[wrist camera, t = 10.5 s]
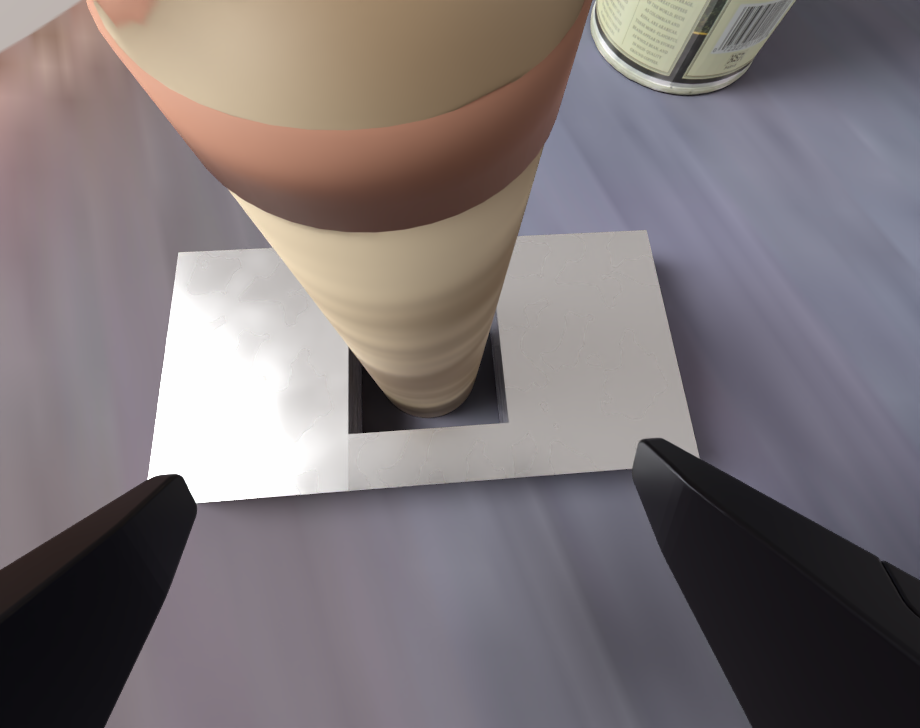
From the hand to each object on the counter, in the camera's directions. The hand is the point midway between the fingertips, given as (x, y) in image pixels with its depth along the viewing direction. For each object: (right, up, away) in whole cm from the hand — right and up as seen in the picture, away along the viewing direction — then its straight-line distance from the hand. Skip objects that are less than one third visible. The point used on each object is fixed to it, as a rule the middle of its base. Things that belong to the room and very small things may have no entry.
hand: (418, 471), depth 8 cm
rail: (-1, +2, +10) cm, 10 cm away
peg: (-1, +2, +10) cm, 10 cm away
